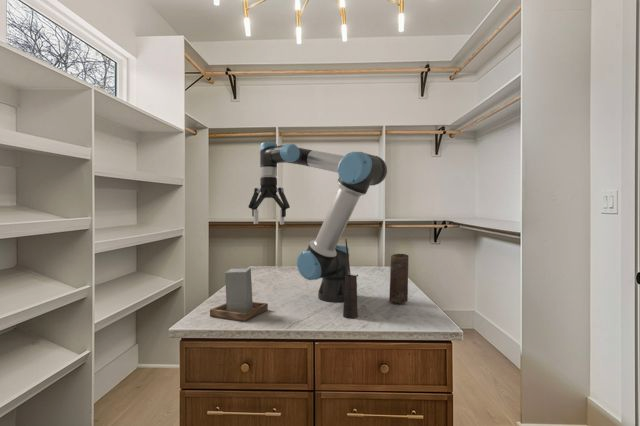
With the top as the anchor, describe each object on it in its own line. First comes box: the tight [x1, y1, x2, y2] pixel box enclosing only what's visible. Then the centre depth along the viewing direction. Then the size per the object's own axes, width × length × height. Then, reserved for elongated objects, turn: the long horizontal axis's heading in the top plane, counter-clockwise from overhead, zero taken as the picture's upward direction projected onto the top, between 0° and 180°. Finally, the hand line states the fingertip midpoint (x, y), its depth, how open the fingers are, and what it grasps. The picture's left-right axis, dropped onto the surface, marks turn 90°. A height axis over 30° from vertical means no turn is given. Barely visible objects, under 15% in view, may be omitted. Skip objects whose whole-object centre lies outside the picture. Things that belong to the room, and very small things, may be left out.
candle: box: [388, 253, 410, 305], centre depth 143 cm, size 8×7×20 cm
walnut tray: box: [209, 301, 269, 323], centre depth 130 cm, size 15×15×2 cm
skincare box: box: [224, 267, 254, 313], centre depth 130 cm, size 8×7×16 cm
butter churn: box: [342, 238, 359, 319], centre depth 126 cm, size 9×10×28 cm
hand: (268, 224), depth 158 cm, fingers open, 13 cm apart
